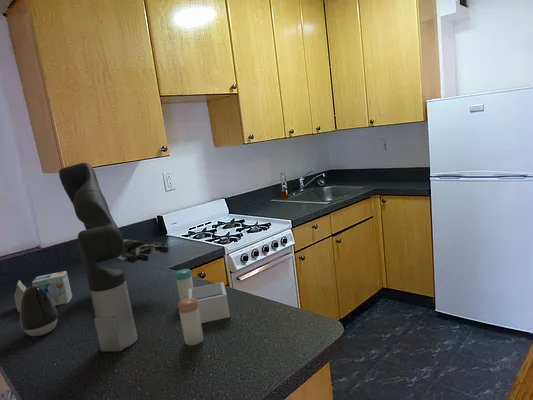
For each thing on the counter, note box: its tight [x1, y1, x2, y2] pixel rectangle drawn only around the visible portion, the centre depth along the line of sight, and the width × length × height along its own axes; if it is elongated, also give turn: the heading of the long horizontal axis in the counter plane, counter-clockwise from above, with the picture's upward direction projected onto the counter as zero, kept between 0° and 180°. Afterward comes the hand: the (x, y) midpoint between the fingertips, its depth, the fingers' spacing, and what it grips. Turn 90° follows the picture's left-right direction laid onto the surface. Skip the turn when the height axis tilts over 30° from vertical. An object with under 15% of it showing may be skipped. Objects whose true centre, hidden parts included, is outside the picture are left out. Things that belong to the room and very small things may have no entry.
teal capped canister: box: [174, 268, 195, 302], centre depth 128 cm, size 5×5×11 cm
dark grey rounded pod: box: [19, 285, 59, 337], centre depth 122 cm, size 10×10×15 cm
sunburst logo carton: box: [13, 280, 27, 313], centre depth 146 cm, size 4×7×10 cm, turn 27°
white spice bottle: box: [177, 298, 205, 346], centre depth 103 cm, size 5×5×11 cm
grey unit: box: [189, 281, 231, 324], centre depth 119 cm, size 11×11×7 cm
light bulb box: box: [31, 270, 73, 307], centre depth 146 cm, size 11×7×11 cm, turn 105°
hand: (157, 253), depth 133 cm, fingers open, 8 cm apart
